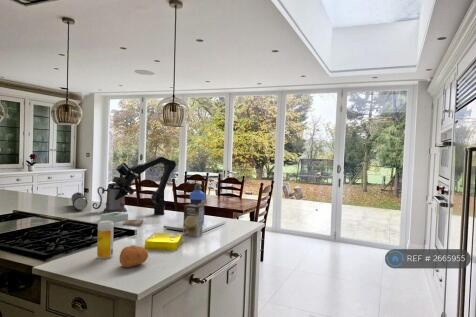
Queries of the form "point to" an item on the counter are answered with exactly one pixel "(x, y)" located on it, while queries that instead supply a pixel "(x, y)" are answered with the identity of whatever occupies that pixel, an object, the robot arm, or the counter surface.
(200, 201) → the water bottle
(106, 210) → the tankard
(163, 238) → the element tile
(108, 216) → the socket block
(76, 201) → the muzzle brake
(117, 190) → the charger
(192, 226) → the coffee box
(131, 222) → the pad
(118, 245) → the counter surface
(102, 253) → the white yellow canister
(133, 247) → the potato
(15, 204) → the counter surface
